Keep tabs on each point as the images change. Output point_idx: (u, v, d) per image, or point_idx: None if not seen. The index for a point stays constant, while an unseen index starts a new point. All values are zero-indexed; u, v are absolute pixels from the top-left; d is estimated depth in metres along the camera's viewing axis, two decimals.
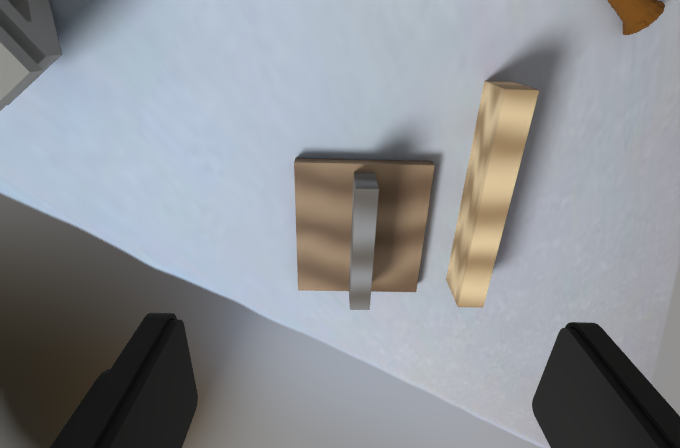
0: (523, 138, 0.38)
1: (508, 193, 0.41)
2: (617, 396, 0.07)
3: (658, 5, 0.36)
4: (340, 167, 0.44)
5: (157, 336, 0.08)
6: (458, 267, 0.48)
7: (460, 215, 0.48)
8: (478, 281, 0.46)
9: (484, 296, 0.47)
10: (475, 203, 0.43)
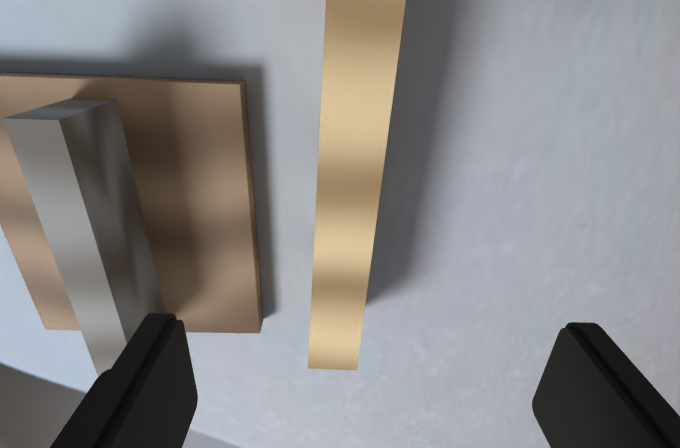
0: None
1: (378, 137, 0.18)
2: (617, 396, 0.07)
3: None
4: (40, 86, 0.21)
5: (157, 336, 0.08)
6: None
7: None
8: (339, 323, 0.23)
9: (356, 351, 0.24)
10: None
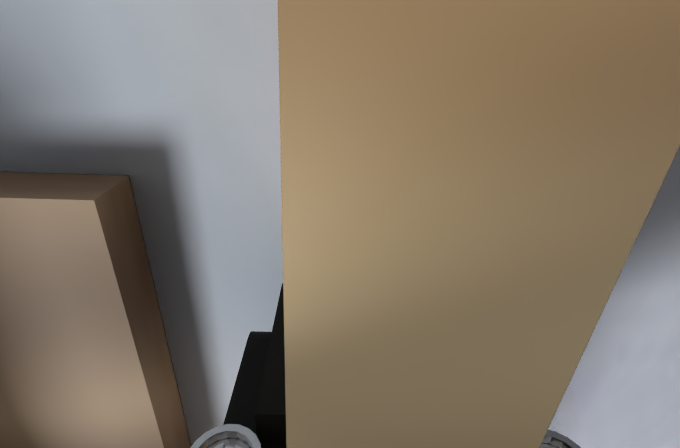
0: None
1: None
2: None
3: None
4: None
5: None
6: None
7: None
8: None
9: None
10: None
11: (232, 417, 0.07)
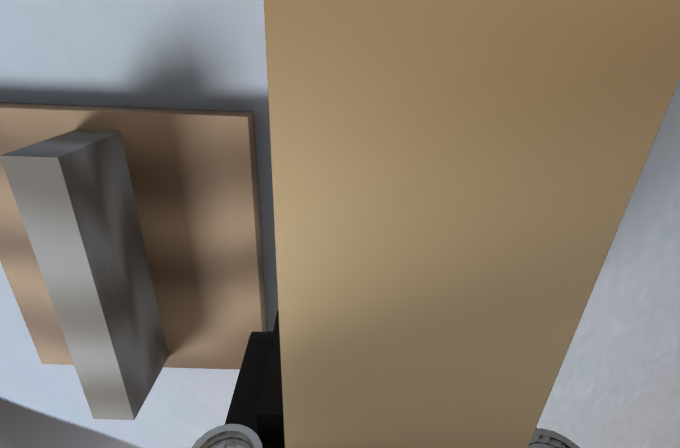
0: None
1: None
2: None
3: None
4: (42, 118, 0.20)
5: None
6: None
7: None
8: None
9: None
10: None
11: (233, 417, 0.07)
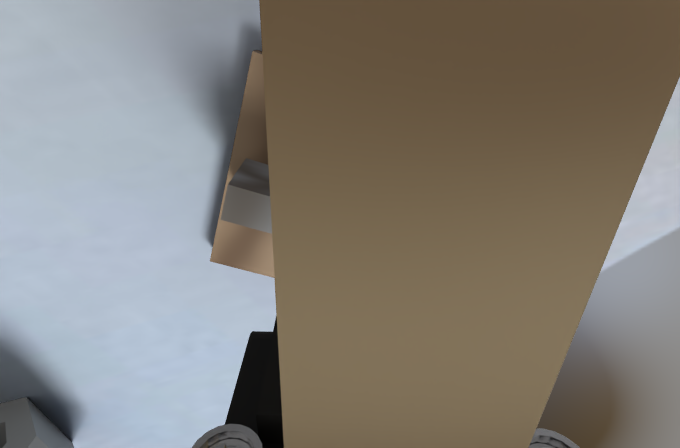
0: None
1: None
2: None
3: None
4: None
5: None
6: None
7: None
8: None
9: None
10: None
11: (233, 417, 0.07)
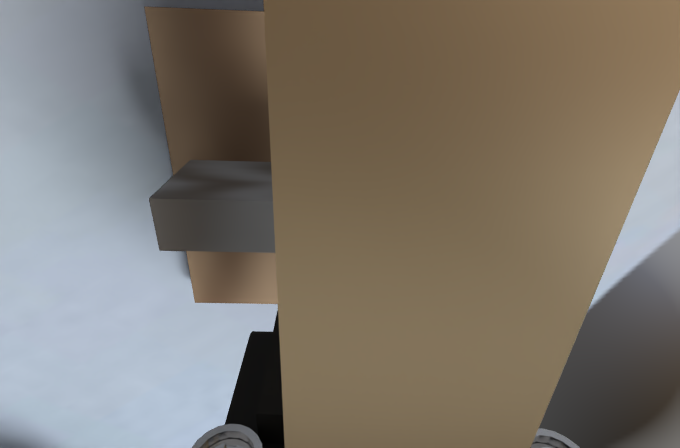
0: None
1: None
2: None
3: None
4: None
5: None
6: None
7: None
8: None
9: None
10: None
11: (233, 417, 0.07)
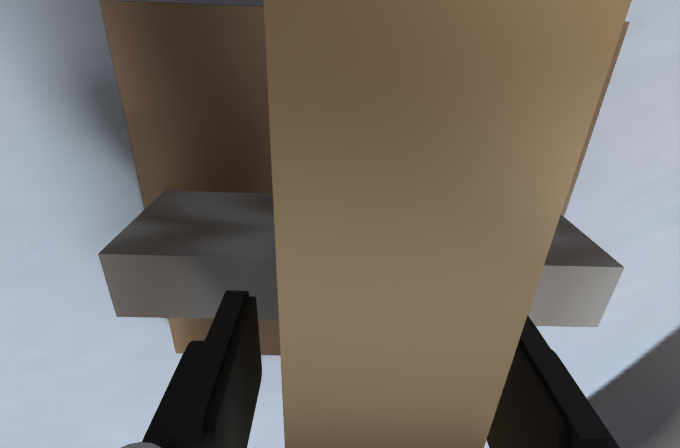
0: None
1: (470, 407, 0.06)
2: (518, 358, 0.08)
3: None
4: None
5: (240, 309, 0.09)
6: None
7: None
8: None
9: None
10: None
11: (153, 433, 0.07)
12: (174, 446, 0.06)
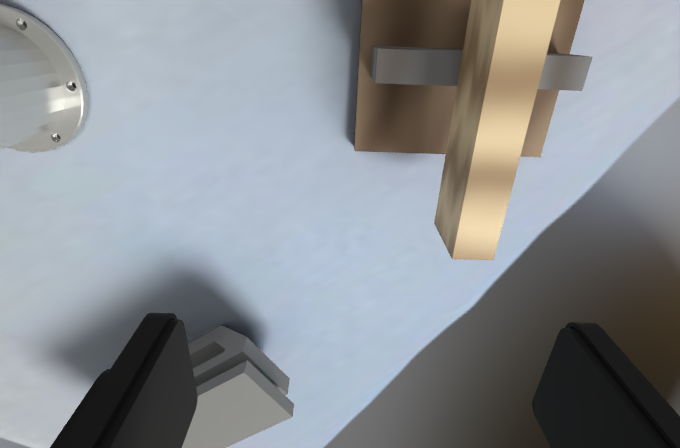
0: None
1: (544, 35, 0.22)
2: (617, 396, 0.07)
3: None
4: (363, 93, 0.34)
5: (157, 336, 0.08)
6: (453, 194, 0.30)
7: (456, 109, 0.29)
8: (485, 213, 0.28)
9: (496, 240, 0.29)
10: (482, 65, 0.24)
11: None
12: None
